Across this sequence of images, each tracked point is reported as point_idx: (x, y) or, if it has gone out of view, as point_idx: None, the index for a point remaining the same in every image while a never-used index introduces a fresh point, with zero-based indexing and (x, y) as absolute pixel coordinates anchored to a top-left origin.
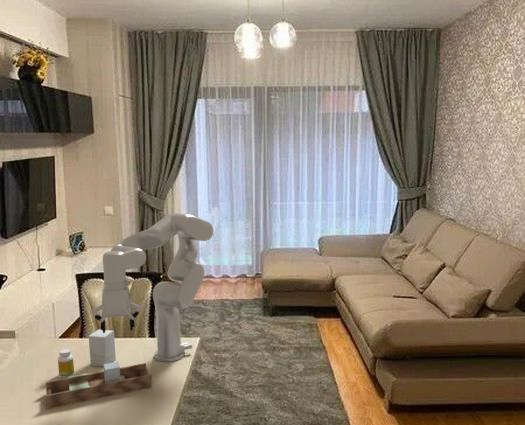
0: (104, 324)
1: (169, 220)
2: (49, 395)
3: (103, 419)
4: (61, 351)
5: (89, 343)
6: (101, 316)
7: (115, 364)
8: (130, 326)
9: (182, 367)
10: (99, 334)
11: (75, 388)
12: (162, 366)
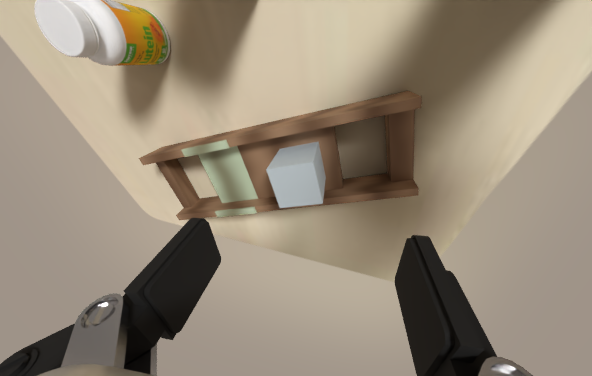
0: (186, 317)
1: None
2: (184, 218)
3: (302, 255)
4: (49, 33)
5: None
6: (73, 347)
7: (307, 182)
8: (404, 314)
9: (575, 56)
10: None
11: (225, 211)
12: (493, 26)
